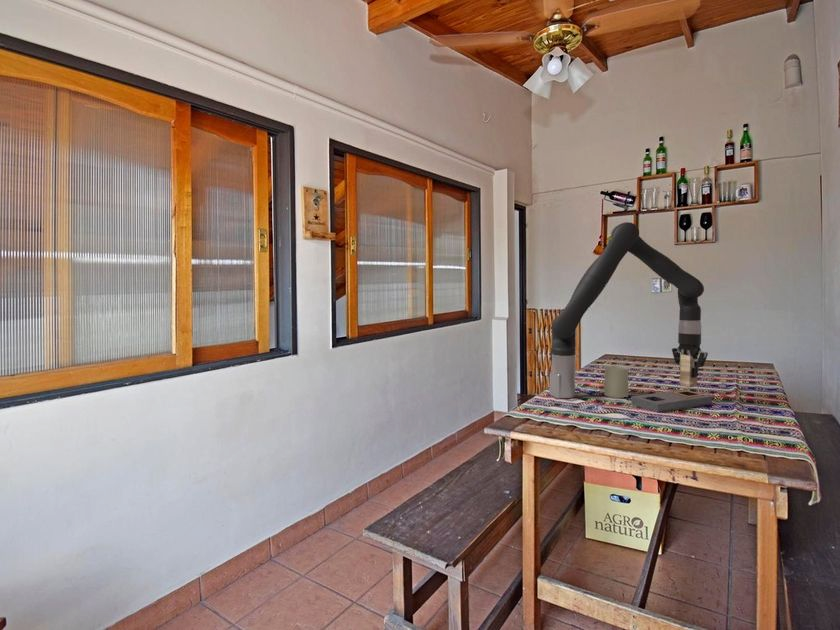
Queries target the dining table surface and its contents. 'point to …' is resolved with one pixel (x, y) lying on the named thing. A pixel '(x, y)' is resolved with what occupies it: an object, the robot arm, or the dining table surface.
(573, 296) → the robot arm
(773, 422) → the dining table surface
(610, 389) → the can
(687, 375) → the peg
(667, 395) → the grey slotted board
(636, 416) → the dining table surface
